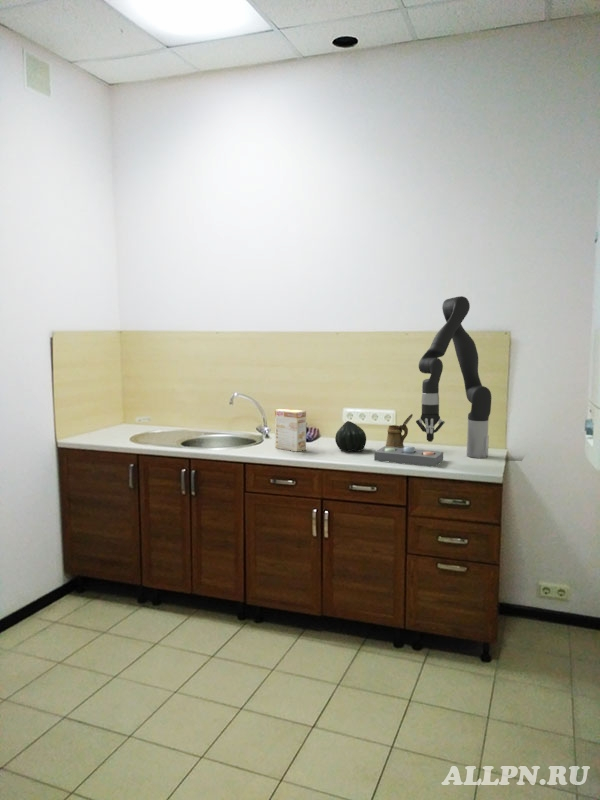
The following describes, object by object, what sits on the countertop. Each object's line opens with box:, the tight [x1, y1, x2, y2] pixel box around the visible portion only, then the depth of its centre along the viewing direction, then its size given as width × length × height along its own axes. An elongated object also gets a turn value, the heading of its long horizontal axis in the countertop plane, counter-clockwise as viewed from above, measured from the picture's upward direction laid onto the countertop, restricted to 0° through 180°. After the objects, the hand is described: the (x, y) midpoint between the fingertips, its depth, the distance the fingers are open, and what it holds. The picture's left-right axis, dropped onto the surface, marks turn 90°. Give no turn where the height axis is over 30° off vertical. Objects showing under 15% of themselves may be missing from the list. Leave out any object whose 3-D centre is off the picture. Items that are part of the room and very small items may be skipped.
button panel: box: [373, 445, 444, 467], centre depth 279 cm, size 28×14×4 cm, turn 63°
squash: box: [335, 420, 367, 452], centre depth 301 cm, size 14×15×15 cm
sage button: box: [385, 448, 395, 452], centre depth 283 cm, size 5×5×3 cm
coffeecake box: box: [274, 408, 307, 452], centre depth 304 cm, size 15×7×20 cm, turn 48°
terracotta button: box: [423, 452, 434, 456], centre depth 275 cm, size 5×5×3 cm
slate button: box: [404, 446, 415, 454], centre depth 279 cm, size 5×5×3 cm
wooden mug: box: [385, 413, 413, 448], centre depth 304 cm, size 9×14×18 cm, turn 62°
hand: (430, 441), depth 274 cm, fingers closed
